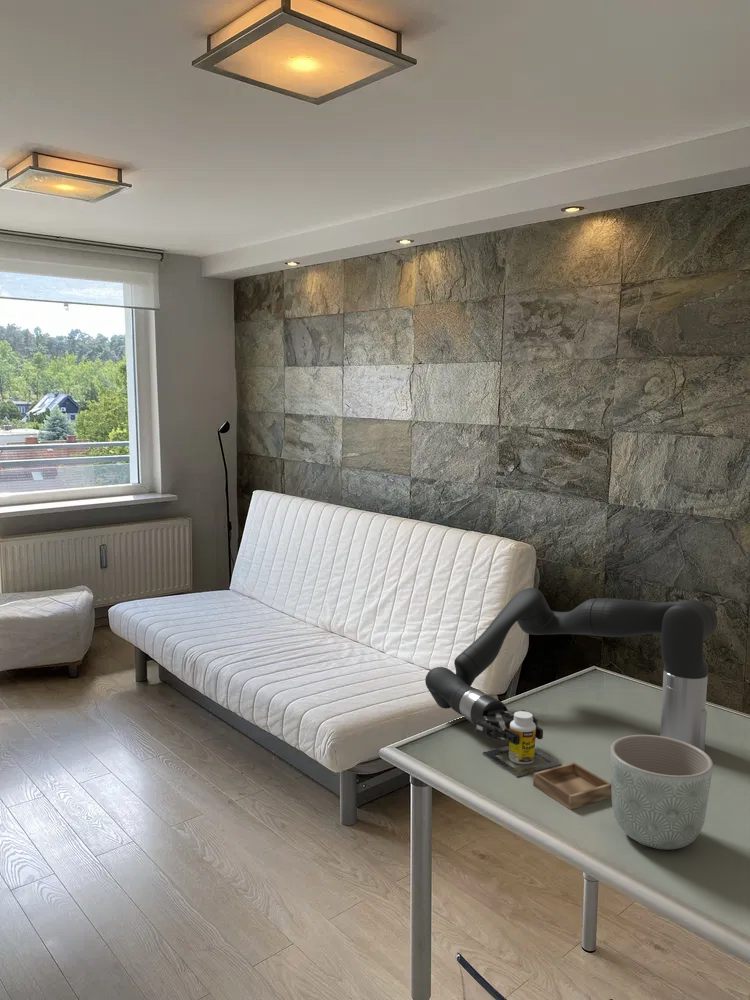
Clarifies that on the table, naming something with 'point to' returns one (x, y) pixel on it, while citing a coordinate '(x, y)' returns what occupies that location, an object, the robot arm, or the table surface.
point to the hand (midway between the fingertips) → (530, 737)
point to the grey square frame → (517, 773)
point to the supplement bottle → (523, 738)
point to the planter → (659, 789)
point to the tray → (572, 785)
